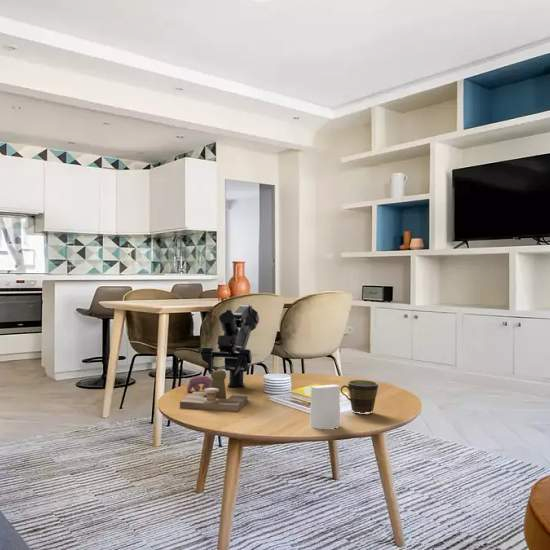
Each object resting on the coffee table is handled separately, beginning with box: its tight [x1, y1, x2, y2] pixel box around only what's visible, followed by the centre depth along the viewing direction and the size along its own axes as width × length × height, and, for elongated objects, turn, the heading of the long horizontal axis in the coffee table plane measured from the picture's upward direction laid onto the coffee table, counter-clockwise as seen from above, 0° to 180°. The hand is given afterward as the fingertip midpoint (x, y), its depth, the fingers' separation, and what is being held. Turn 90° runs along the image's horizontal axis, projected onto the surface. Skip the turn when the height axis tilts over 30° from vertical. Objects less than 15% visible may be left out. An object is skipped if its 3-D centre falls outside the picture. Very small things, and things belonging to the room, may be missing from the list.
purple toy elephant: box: [186, 375, 213, 393], centre depth 207 cm, size 10×5×7 cm, turn 85°
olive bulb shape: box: [211, 369, 227, 399], centre depth 192 cm, size 6×6×11 cm
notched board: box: [179, 388, 249, 412], centre depth 188 cm, size 16×20×6 cm
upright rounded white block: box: [309, 383, 341, 430], centre depth 164 cm, size 9×9×12 cm
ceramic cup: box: [340, 379, 379, 413], centre depth 180 cm, size 13×10×10 cm
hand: (221, 374), depth 196 cm, fingers open, 9 cm apart
